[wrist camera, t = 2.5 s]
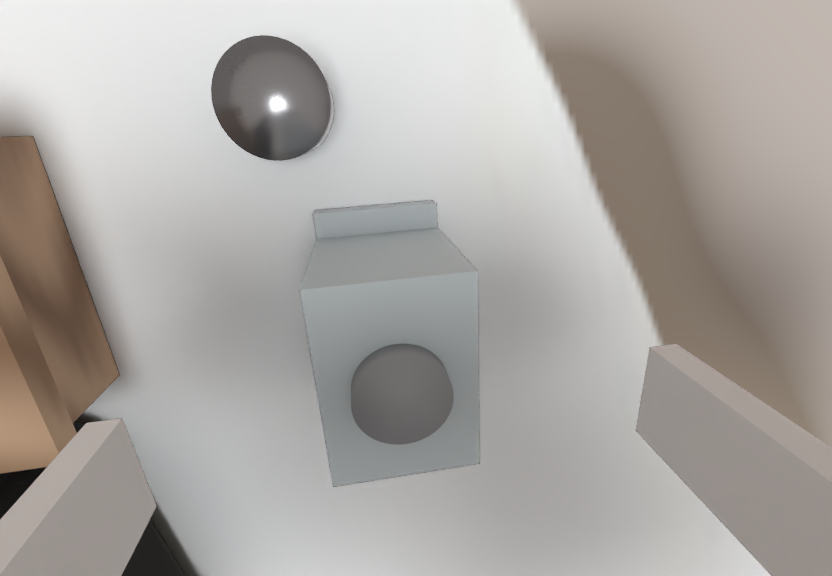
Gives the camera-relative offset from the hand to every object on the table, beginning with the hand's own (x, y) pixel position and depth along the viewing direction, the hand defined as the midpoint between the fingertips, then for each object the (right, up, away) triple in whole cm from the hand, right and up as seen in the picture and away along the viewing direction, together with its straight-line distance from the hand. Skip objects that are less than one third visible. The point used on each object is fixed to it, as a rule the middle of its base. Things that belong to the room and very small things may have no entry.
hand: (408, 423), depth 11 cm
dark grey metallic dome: (-5, +10, +5) cm, 13 cm away
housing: (-1, +3, +9) cm, 9 cm away
